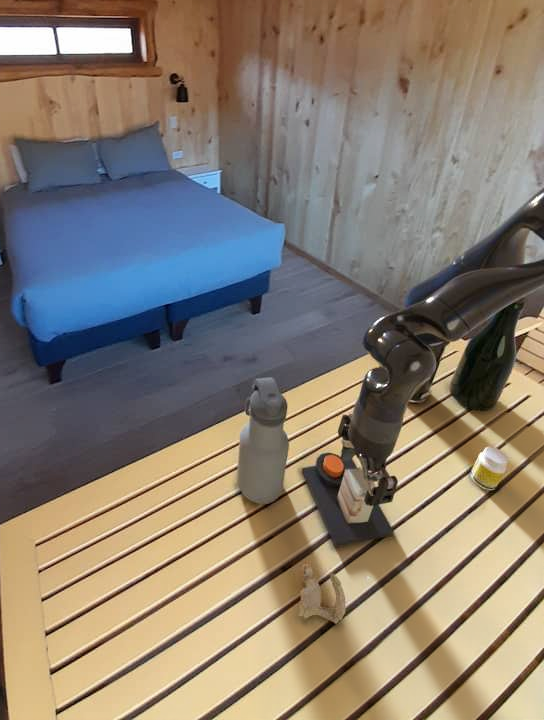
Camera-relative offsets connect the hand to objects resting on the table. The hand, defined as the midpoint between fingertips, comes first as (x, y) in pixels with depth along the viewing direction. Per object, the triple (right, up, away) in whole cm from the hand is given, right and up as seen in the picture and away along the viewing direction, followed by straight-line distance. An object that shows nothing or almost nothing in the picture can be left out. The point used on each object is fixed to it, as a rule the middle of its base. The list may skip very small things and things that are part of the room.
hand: (357, 479), depth 76 cm
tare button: (-1, -4, +10) cm, 11 cm away
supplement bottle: (+32, -7, +11) cm, 34 cm away
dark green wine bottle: (+43, +4, +30) cm, 53 cm away
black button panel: (0, -9, +7) cm, 11 cm away
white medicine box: (+1, -9, +4) cm, 10 cm away
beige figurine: (-11, -17, -8) cm, 22 cm away
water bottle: (-17, -7, +11) cm, 21 cm away
